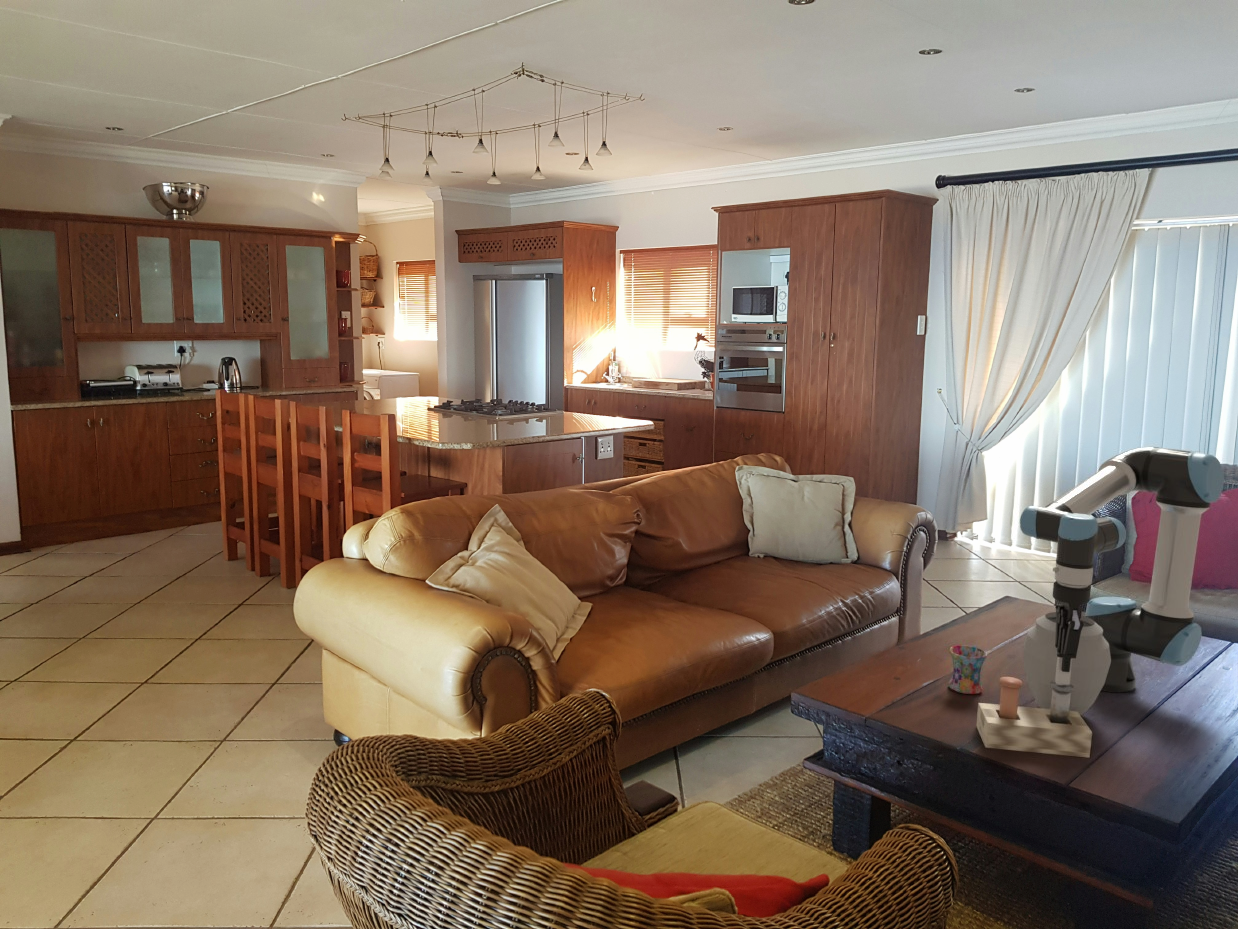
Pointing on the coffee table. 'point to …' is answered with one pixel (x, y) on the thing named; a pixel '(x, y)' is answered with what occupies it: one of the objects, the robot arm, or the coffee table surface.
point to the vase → (1084, 670)
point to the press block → (1033, 731)
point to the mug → (967, 669)
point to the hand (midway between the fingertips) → (1062, 683)
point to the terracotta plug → (1009, 697)
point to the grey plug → (1060, 702)
